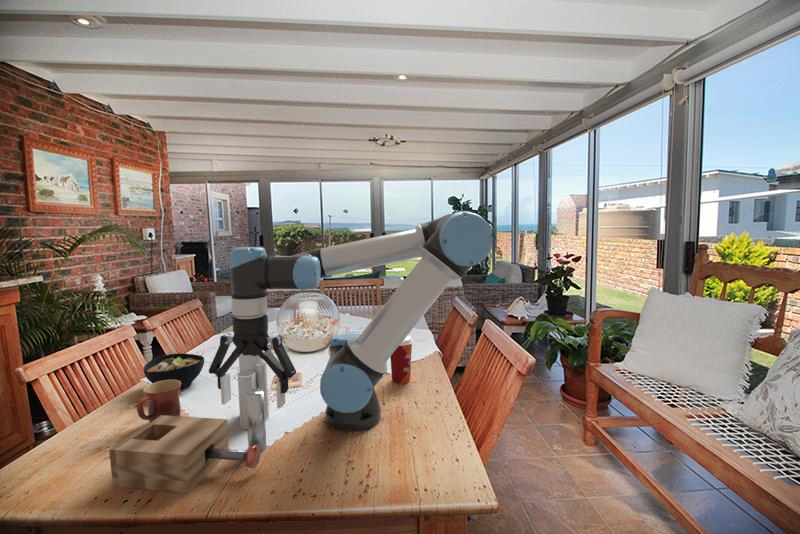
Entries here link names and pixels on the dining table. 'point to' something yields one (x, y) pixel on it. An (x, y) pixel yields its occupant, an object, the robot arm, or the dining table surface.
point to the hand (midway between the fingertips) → (253, 403)
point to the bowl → (174, 368)
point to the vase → (251, 382)
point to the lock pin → (236, 455)
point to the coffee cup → (402, 362)
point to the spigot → (256, 418)
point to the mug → (160, 400)
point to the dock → (168, 453)
